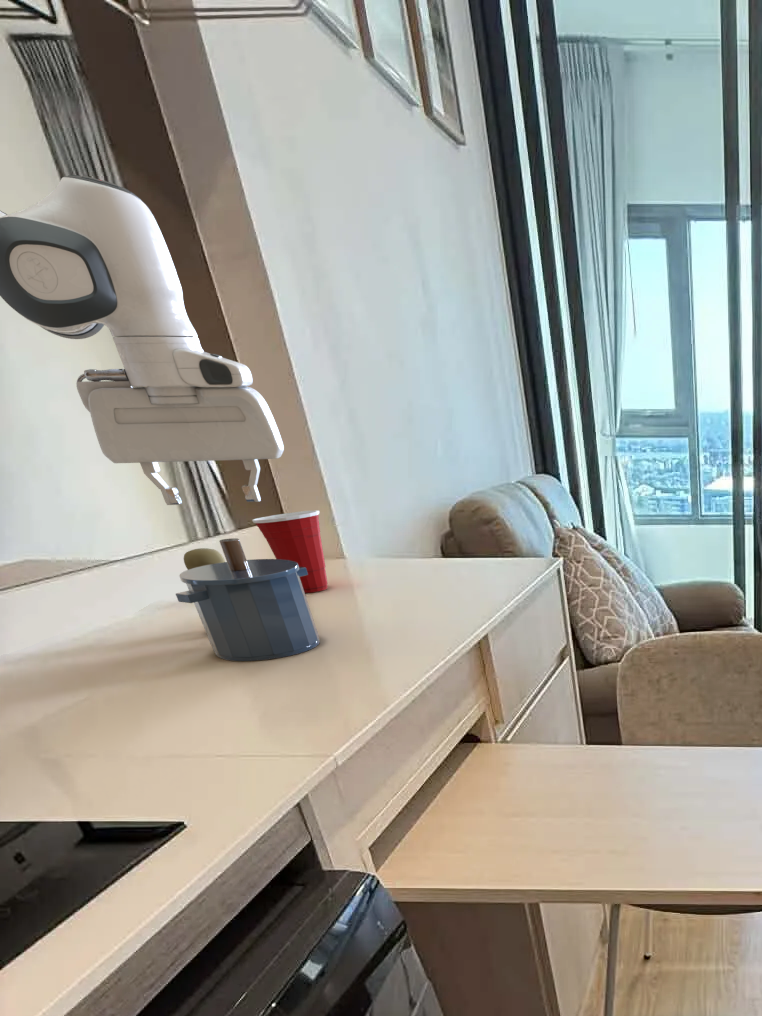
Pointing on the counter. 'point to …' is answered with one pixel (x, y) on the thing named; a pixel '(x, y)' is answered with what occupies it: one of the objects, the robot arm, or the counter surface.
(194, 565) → the cork
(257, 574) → the lid
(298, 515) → the plastic cup
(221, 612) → the pot
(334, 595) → the counter surface
